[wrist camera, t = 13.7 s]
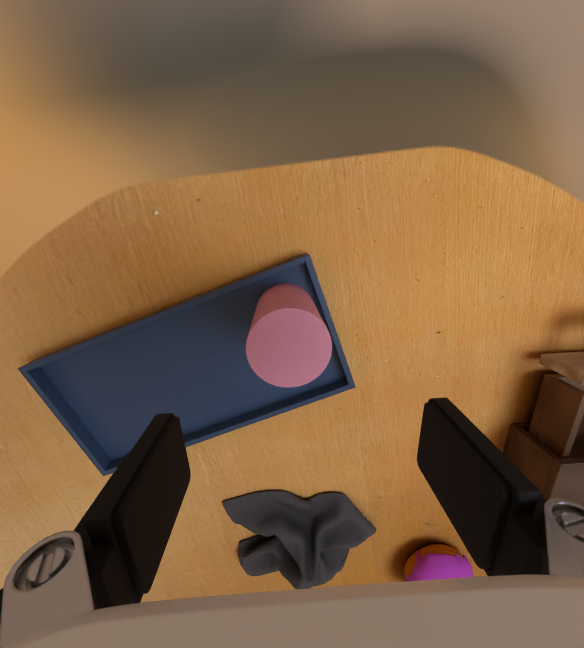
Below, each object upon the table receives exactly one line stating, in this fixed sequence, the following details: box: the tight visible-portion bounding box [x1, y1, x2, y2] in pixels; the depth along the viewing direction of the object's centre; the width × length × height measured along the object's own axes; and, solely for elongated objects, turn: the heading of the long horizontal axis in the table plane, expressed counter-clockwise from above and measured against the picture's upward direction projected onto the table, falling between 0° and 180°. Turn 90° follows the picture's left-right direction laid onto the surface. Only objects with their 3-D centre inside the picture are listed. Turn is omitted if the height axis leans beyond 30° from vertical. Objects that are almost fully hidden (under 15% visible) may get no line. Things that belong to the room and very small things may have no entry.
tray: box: [18, 253, 355, 476], centre depth 30 cm, size 31×15×2 cm, turn 111°
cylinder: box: [246, 283, 332, 387], centre depth 24 cm, size 6×6×10 cm
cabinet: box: [503, 423, 584, 506], centre depth 34 cm, size 14×14×7 cm
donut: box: [404, 544, 473, 582], centre depth 40 cm, size 10×10×5 cm
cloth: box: [223, 490, 376, 589], centre depth 36 cm, size 22×19×6 cm
